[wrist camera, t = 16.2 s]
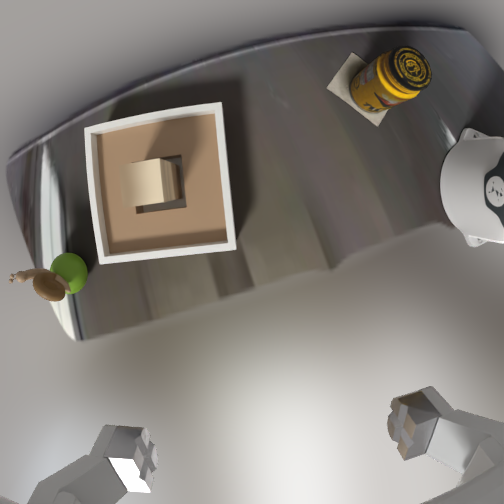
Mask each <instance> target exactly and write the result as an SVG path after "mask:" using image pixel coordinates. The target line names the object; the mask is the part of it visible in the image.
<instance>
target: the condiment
mask: <svg viewBox="0 0 504 504" xmlns="http://www.w3.org/2000/svg"><path fill="white" fill-rule="evenodd" d="M431 76H432V73H431V69H430V65H429V63H428V61H427V60H426V59H425V57H424V56H423V55H422V54H421V53H420V52H419V51H418V50H416V49H414V48H413V47H410V46H398V47H396V48H394V49H393V50H391V51H387V52H384V53H382V54H381V55H380V56H378V57H377V58H376V59H375V60H374V61H373V62H371V63H370V64H367V63H366V62H364V61H363V60H362V59H361V58H359V57H358V56H357V55H355V54H354V53H353V52H352V53H351V55H350V56H349V57H348V59H347V60H346V61H345V63H344V64H343V66H342V67H341V68H340V70H339V71H338V73H337V74H336V75H335V77H334V78H333V80H332V81H331V83H330V84H329V85H328V87H327V89H329V90H330V91H332V92H333V93H334V94H336V95H337V96H339V97H340V98H341V99H343V100H344V101H345V102H347V103H348V104H349V105H351V106H352V107H353V108H354V109H356V110H357V111H358V112H360V113H361V114H362V115H363V116H365V117H366V118H367V119H368V120H370V121H371V122H372V123H373V124H375V125H376V126H378V125H379V124H380V122H381V121H382V119H383V117H384V115H385V114H386V112H387V110H388V109H390V108H392V107H393V106H395V105H398V104H400V103H402V102H404V101H407V100H409V99H412V98H414V97H415V96H416V95H417V94H418V93H419V92H420V91H421V90H424V89H425V88H427V87H428V85H429V84H430V82H431V79H432V78H431ZM346 85H347V87H346ZM347 88H348V89H347Z"/></svg>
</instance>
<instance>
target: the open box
mask: <svg viewBox="0 0 504 504" xmlns="http://www.w3.org/2000/svg"><path fill="white" fill-rule="evenodd" d="M85 150H86V165H87V177H88V187H89V197H90V205H91V213H92V220H93V227H94V234H95V240H96V246H97V252H98V257H99V263H100V264H108V263H117V262H126V261H135V260H144V259H154V258H163V257H172V256H182V255H191V254H200V253H210V252H219V251H229V250H236V234H235V224H234V215H233V205H232V195H231V186H230V176H229V166H228V156H227V145H226V135H225V124H224V114H223V108H222V102H218V103H209V104H201V105H194V106H187V107H181V108H174V109H168V110H163V111H157V112H152V113H147V114H142V115H137V116H132V117H127V118H123V119H119V120H114V121H110V122H106V123H102V124H98V125H94V126H91V127H87V128H85ZM158 158H160V159H163V160H166V161H169V162H171V163H174V164H177V165H179V167H180V177H181V187H182V196H183V198H181V199H176V200H172V201H167V202H162V203H154V204H148V205H141V206H134V207H128V208H123V202H122V194H121V184H120V174H119V165H124V164H129V163H135V162H140V161H146V160H152V159H158Z"/></svg>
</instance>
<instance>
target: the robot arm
mask: <svg viewBox="0 0 504 504" xmlns="http://www.w3.org/2000/svg"><path fill="white" fill-rule="evenodd" d="M440 189H441V197H442V202H443V206H444V209H445V211H446V213H447V215H448V217H449V219H450V220H451V222H452V223H453V224H454V225H455V226H456V227H457V228H458V229H459V230H460V231H461V232H462V233H463V235H464V237H465V240H466V242H467V244H468V245H469V246H471V247H477V246H479V245H481V244H483V243H486V242H488V241H493V242H498V243H504V137H489V136H487V135H485V134H483V133H480V132H478V131H476V130H474V129H471V128H465V129H464V130H463V131H462V133H461V136H460V139H459V142H458V143H457V144H456V145H455V146H454V147H453V148H452V149H451V150H450V152H449V153H448V155H447V156H446V158H445V161H444V163H443V167H442V171H441V179H440ZM390 407H391V409H392V410H393V411H392V412H391V414H390V415H389V416H388V421H387V426H388V432H389V435H390V437H391V439H392V440H393V441H396V442H398V447H397V449H398V451H399V453H400V454H401V456H402V458H403V459H404V460H408V459H411V458H414V457H417V456H420V455H422V454H425V453H426V455H428V456H429V457H431V458H433V459H435V460H437V461H438V462H440V463H442V464H444V465H446V466H448V467H450V468H451V469H453V470H455V471H457V472H459V473H461V474H463V475H462V477H461V479H460V480H459V482H458V484H457V486H456V488H454V489H452V490H450V491H448V492H446V493H444V494H442V495H439V496H437V497H435V498H433V499H431V500H428V501H426V502H424V503H421V504H504V423H503V422H499V421H495V420H492V419H488V418H485V417H481V416H478V415H474V414H471V413H468V412H465V411H461V410H455V411H454V409H453V408H452V407H451V406H450V405H449V404H448V403H447V402H446V401H445V399H444V398H443V397H442V396H441V395H440V394H439V393H438V392H437V391H436V390H435V388H434V387H432V386H429V387H426V388H423V389H421V390H418V391H415V392H412V393H408V394H405V395H402V396H399V397H396V398H393V400H392V401H391V406H390ZM150 436H151V435H150V433H149V431H148V429H146V428H141V427H128V426H115V425H105V426H103V428H102V430H101V432H100V434H99V436H98V438H97V440H96V442H95V444H94V446H93V448H92V450H91V452H90V454H89V455H84V456H83V457H81V458H80V459H78V460H76V461H75V462H73V463H71V464H70V465H68V466H66V467H65V468H63V469H61V470H60V471H58V472H56V473H55V474H53V475H51V476H49V477H48V478H46V479H44V480H43V481H41V482H39V483H38V485H37V487H36V488H35V490H34V492H33V494H32V496H31V498H30V499H29V502H28V503H27V504H115V503H116V502H118V500H119V499H121V498H122V497H123V496H124V495H125V494H126V493H127V492H128V491H127V490H129V491H138V492H151V490H152V486H153V481H154V477H153V475H152V472H153V471H154V470H155V469H157V464H158V454H157V449H156V447H155V444H153V443H152V442H151V441H149V440H150ZM0 504H18V503H16V502H14V501H11V500H9V499H7V498H5V497H3V496H1V495H0Z"/></svg>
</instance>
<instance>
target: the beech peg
mask: <svg viewBox="0 0 504 504" xmlns="http://www.w3.org/2000/svg"><path fill="white" fill-rule="evenodd" d="M119 174H120V184H121V194H122V202H123V208H128V207H134V206H141V205H148V204H154V203H162V202H167V201H172V200H176V199H181V198H183V196H182V187H181V177H180V167H179V165H177V164H174V163H171V162H169V161H166V160H163V159H160V158H158V159H152V160H146V161H140V162H135V163H129V164H124V165H119Z"/></svg>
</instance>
